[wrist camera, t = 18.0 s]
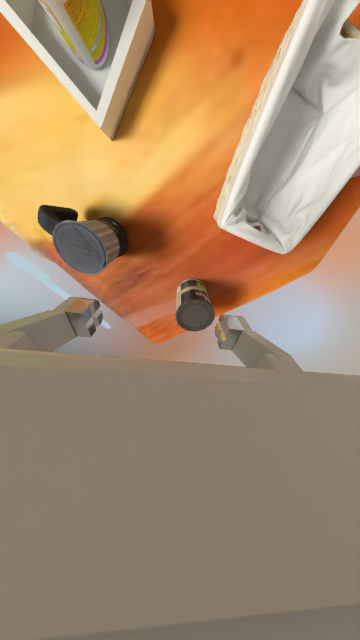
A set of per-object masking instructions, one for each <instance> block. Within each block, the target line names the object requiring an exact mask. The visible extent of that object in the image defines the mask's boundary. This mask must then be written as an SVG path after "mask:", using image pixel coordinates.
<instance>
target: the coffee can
mask: <svg viewBox="0 0 360 640" xmlns="http://www.w3.org/2000/svg"><path fill="white" fill-rule="evenodd" d="M214 316H215V312H214V309H213V307H212V305H211V302H210V299H209V297H208V294H207V291H206V287H205V285H204V284H203V283H202V282H201V281H200V280H197V279H187V280H185V281H183V282H182V283H181V284H180V285H179V287H178V289H177V307H176V321H177V323H178V325H179V326H180V327H182V328H183V329H185V330H188V331H200V330H203V329H205V328H207V327H208V326H209V325H210V324H211V323H212V321H213V320H214Z"/></svg>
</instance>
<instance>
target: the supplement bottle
mask: <svg viewBox="0 0 360 640" xmlns="http://www.w3.org/2000/svg"><path fill="white" fill-rule="evenodd" d="M38 1H39V2H40V4H41V5H42V7H43V8H44V10H45V11H46V13H47V14H48V16H49V17H50V19H51V20H52V22H53V23H54V25H55V26H56V28H57V29H58V31H59V33H60V34H61V36H62V37H63V39H64V40H65V42H66V43H67V45H68V46H69V48H70V49H71V51H72V52H73V53H74V55H75V56H76V57H77V59H78V60H79V61H80V62H81V63H82V64H83V65H85V66H86V67H88V68H90V69H98V68H100V67H101V66H102V65H103V64H104V62H105V60H106V58H107V54H108V49H109V30H108V23H107V18H106V13H105V10H104V6H103V3H102V1H101V0H38Z"/></svg>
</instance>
